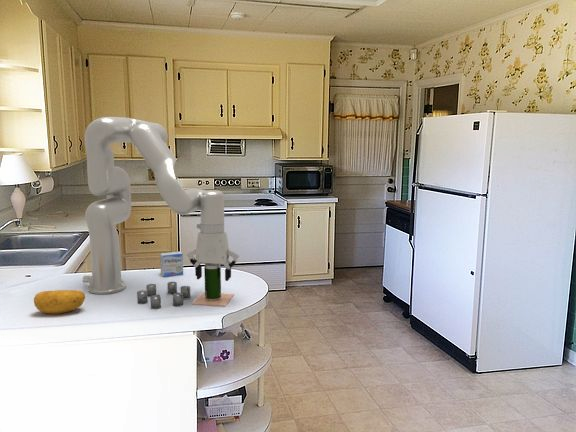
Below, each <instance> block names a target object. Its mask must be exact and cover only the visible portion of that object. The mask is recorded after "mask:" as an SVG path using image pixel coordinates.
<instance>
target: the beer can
mask: <svg viewBox="0 0 576 432" xmlns="http://www.w3.org/2000/svg"><path fill="white" fill-rule="evenodd" d="M221 271H222V267H221V264H205V263H204V271H203V272H204V292H205V298H206V300H208V301H217V300H219V299H220V298H221V293H222V272H221Z"/></svg>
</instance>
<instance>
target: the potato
mask: <svg viewBox="0 0 576 432" xmlns="http://www.w3.org/2000/svg"><path fill="white" fill-rule="evenodd" d="M85 300H86V295H85V292H84V291H81V290H78V289H70V290H69V289H64V290H63V289H56V290H43V291H40V292H38V293H36V294H35V295H34V297H33V303H34V306H35V307H36V309H37V311H40V312H42V313H44V314H50V315H51V314H52V315H53V314H54V315H55V314H56V315H58V314H62V313H67V312H72V311H74V310H77V309H78V308H80V307H81V306H82V305H83V303H84V302H85Z"/></svg>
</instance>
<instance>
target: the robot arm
mask: <svg viewBox="0 0 576 432" xmlns="http://www.w3.org/2000/svg"><path fill="white" fill-rule="evenodd" d="M168 138H169V135H168V132H167V130H166V128H165V127H164V126H163V125H161V124H160V123H156V122H150V121H146V120H142V119H135V118H133V117H132V118H131V117H122V116H118V117H117V116H103V117H102V116H101V117H98V118H96V119H95V120H92V121H91V122H90V123H89V124H88V126H87V127H86V130H85V132H84V145H85V153H86V168H87V169H86V170H87V185H88V188H89V189H88V190H89V192H90V193H91V194H92V195H94V196H97V197H106V198H104V199H99V200H96V201H94V202H92V203H90V204H89V205H88V207H87V208H86V210H85V215H84V217H85V222H86V225H87V229H88V235H89V247H90V261H91V262H90V263H91V264H90V265H91V275H92V276H91V275H84V276H83V277H82V283H86V284H89V285H88V286H87V290H88V292H89V293H90V294H91V293H92V294H94V295H95V294H96V295H108V294H110V295H111V294H115V293H119V292H122V291H123V290H125V289H126V288H127V283H126V282H125V281H123V280H122V267H121V265H122V263H121V248H120V246H121V245H120V236H119V233H118V231H117V228H116V225H118V224H120V223H123V222H126V221H127V220H128V219H129V218H130V216H131V213H132V192H131V190H132V186H131V179H130V175H129V174H128V173H127V171H126V169H123V168H122V167H120V166H115V162H114V161H115V156H114V152H113V149H112V147H111V145H110V144H115V143H118V144H120V143H128V144H129V143H130V144H132V145H134V147H135V148H136V150H137V151H138V153H139V154H140V156H141V157H142V158H143V160H144V161H145V162H146V164H147V165H148V166H149V167H150V170H151V171H152V172H153V174H154V181H155V185H156V188H157V191H158V193H159V195H160V197H161V198H162V199H163V200H164V202H165V203H166V204H167V206H168V208H170V210H172V211H173V213H175V214H177V215H181V216H184V215H188V214H191V213H195V212H198V211H200V223H199V224H196V229H198V230H199V232H198V234H197V238H196V239H197V240H196V248H195V249H194V250H192V251H190V252H188V253H187V254H186V256H187V257H188V260H189V262H190V263H191V264H192V266H193V268H194V271H195V274H194V275H195V277H196V280H200V279H201V278H202V277H203V269H202V265H201V264H204V265H205V264H220V265H223V266H224V267H225V270H224V280H225V281H226V282H228V281H229V280H230V279H231V278H232V267H234V265H235V264H237V262H238V259H239V258H240V255H239V254H237V253H236V252H234V251H231V250H230V249H229V240H228V234H227V232H226V231H225V196H224V195H225V194H224V193H223V191H221V190H217V189H216V190H215V189H214V190H213V189H208V190H206V189H200V188H198V187H197V188H196V187H195V188H188V189H184V188H183V187H182V185H181V184H180V182H179V181H178V179H177V178H176V173H175V165H176V162H177V158H176V156H175V154H174V153H173V152H172V150H171V149H170V148H169V147H168V145H167V143H168ZM194 255H195V256H194ZM230 257H231V258H232V261H231V262H230V259H229V258H230Z"/></svg>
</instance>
